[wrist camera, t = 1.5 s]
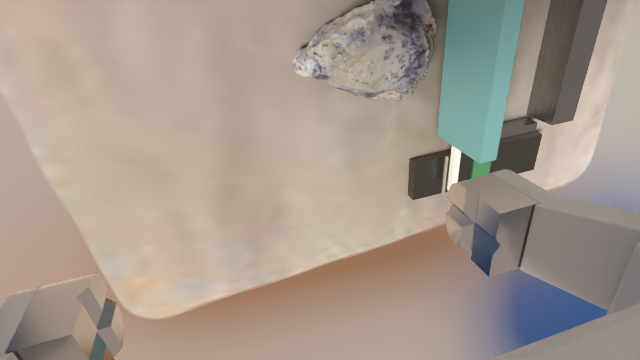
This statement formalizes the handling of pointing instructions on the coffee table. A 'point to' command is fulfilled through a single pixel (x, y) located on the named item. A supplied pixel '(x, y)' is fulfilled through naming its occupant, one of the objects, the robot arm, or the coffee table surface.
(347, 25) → the mineral specimen
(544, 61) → the gauge frame
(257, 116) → the coffee table surface
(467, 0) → the gauge plate
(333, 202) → the coffee table surface
